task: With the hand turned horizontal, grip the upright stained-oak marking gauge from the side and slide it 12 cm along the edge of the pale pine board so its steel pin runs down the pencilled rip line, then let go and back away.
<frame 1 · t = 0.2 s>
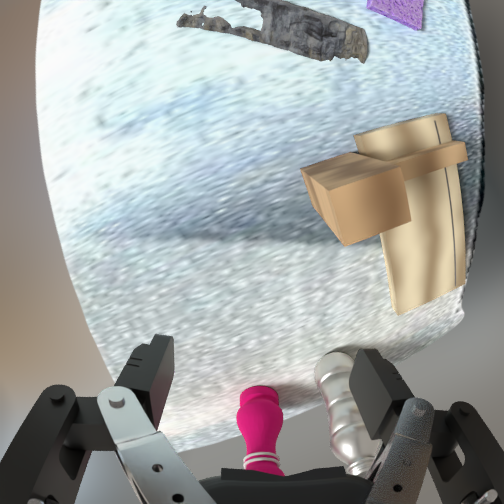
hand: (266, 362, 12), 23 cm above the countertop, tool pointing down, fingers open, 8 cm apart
marking gauge: (331, 179, 32), on the countertop
driftwood: (277, 22, 25), on the countertop
plastic bottle: (331, 361, 42), on the countertop
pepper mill: (259, 396, 45), on the countertop
pine board: (418, 216, 33), on the countertop
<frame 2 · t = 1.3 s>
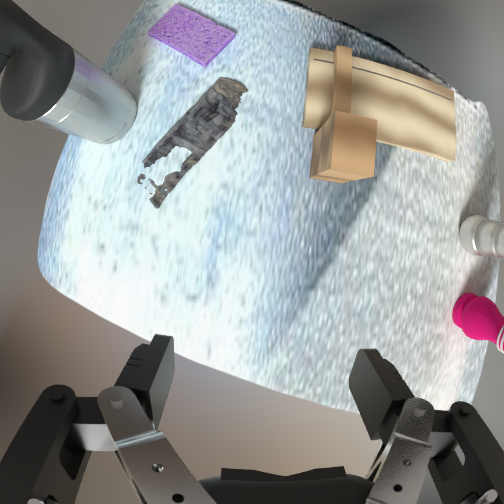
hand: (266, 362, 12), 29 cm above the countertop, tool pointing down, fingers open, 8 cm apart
marking gauge: (327, 159, 38), on the countertop
driftwood: (190, 137, 39), on the countertop
plastic bottle: (467, 233, 40), on the countertop
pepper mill: (464, 309, 42), on the countertop
pine board: (384, 105, 37), on the countertop
sponges: (191, 36, 36), on the countertop
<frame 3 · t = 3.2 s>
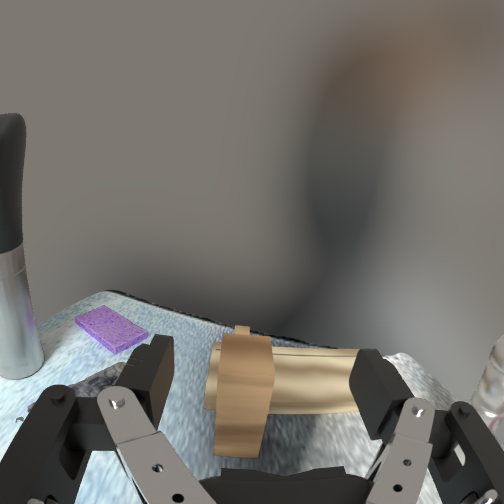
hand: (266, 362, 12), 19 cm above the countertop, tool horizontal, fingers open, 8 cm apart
marking gauge: (236, 436, 28), on the countertop
driftwood: (81, 405, 28), on the countertop
plastic bottle: (453, 454, 23), on the countertop
pine board: (296, 384, 38), on the countertop
sponges: (109, 333, 45), on the countertop
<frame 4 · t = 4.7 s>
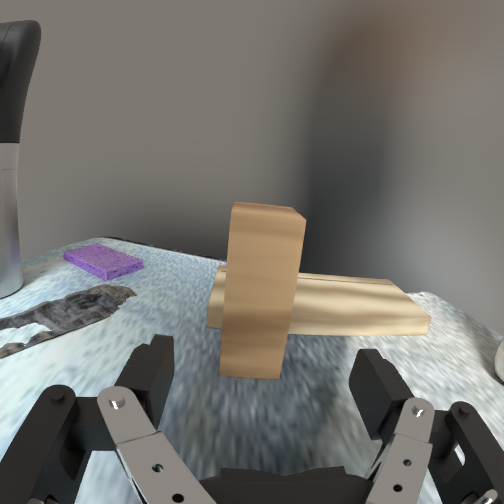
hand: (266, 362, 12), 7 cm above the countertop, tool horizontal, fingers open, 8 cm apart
marking gauge: (248, 355, 24), on the countertop
driftwood: (55, 325, 24), on the countertop
pine board: (317, 308, 34), on the countertop
sponges: (100, 267, 40), on the countertop
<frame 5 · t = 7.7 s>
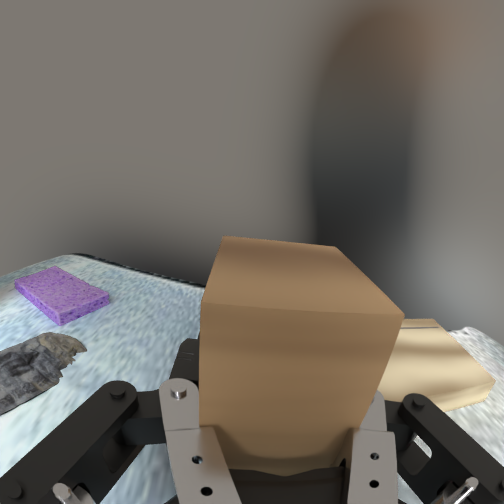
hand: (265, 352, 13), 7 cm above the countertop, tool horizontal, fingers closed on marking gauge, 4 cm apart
marking gauge: (250, 481, 12), on the countertop, touching gripper
pine board: (347, 374, 22), on the countertop
sponges: (58, 301, 29), on the countertop
when the fingers open (7 cm above the countertop, at t = 12.0 s): marking gauge stays where it is, on the countertop.
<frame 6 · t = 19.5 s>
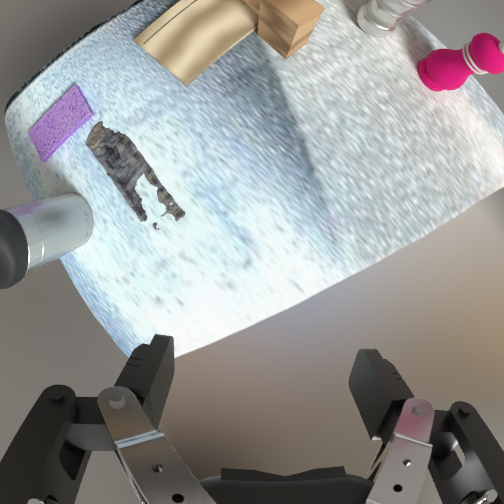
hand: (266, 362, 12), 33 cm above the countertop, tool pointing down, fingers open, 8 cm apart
marking gauge: (281, 38, 36), on the countertop
driftwood: (131, 175, 42), on the countertop
plastic bottle: (371, 25, 35), on the countertop
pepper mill: (431, 75, 37), on the countertop
pine board: (219, 15, 35), on the countertop
sponges: (62, 124, 39), on the countertop
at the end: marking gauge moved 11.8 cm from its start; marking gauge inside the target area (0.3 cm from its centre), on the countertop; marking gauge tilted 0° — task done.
